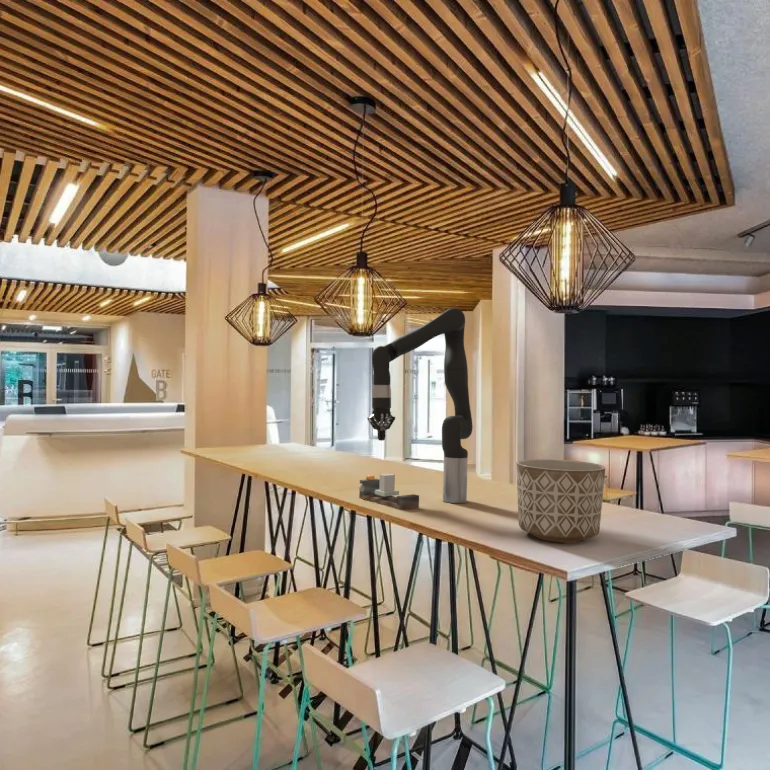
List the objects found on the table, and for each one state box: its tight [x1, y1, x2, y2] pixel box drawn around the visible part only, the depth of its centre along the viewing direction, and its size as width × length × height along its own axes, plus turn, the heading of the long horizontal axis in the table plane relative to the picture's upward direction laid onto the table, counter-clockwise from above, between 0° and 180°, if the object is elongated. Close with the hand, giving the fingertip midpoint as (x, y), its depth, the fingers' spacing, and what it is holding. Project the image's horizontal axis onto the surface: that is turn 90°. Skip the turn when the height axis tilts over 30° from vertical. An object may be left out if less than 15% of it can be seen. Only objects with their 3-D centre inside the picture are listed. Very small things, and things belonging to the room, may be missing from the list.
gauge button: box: [365, 474, 375, 480], centre depth 246 cm, size 3×3×2 cm
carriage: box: [375, 473, 400, 496], centre depth 237 cm, size 6×7×8 cm
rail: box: [358, 478, 420, 511], centre depth 236 cm, size 27×8×7 cm, turn 37°
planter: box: [516, 458, 606, 543], centre depth 190 cm, size 26×26×22 cm
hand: (381, 440), depth 248 cm, fingers closed
